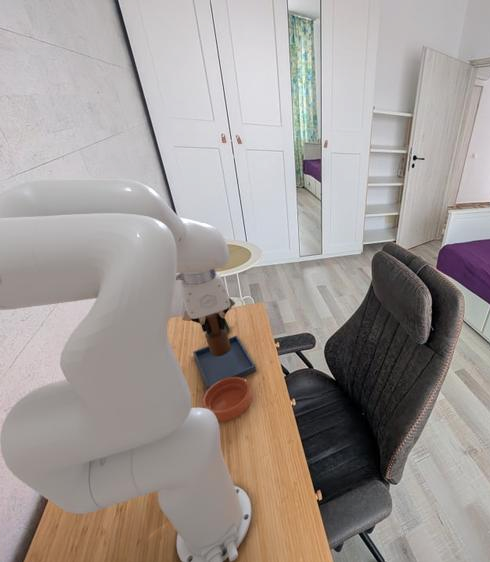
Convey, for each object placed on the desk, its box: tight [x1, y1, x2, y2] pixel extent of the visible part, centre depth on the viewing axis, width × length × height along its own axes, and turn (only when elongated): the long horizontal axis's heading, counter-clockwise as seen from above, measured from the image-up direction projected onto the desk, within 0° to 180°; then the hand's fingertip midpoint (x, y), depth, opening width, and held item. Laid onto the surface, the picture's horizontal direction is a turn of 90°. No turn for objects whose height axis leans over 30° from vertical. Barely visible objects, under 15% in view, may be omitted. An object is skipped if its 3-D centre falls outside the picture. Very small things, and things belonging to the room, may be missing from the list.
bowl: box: [202, 377, 253, 423], centre depth 76 cm, size 11×11×4 cm
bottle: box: [204, 312, 231, 356], centre depth 82 cm, size 5×5×14 cm
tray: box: [192, 335, 257, 391], centre depth 87 cm, size 17×13×3 cm
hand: (215, 329), depth 81 cm, fingers closed on bottle, 3 cm apart
